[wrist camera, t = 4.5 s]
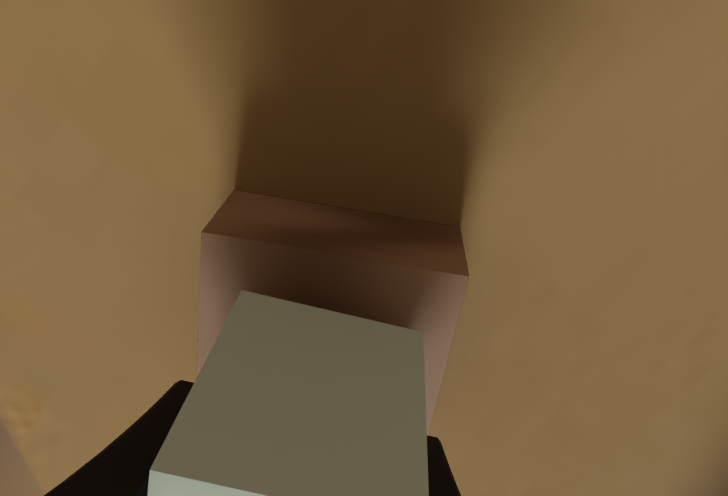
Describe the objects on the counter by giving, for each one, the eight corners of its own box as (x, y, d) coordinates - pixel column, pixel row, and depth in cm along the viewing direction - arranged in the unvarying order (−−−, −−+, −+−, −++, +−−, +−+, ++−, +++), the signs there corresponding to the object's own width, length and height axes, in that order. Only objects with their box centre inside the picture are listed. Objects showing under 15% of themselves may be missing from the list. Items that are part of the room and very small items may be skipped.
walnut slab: (459, 223, 16) (468, 276, 13) (417, 397, 18) (417, 472, 16) (237, 186, 16) (201, 232, 13) (226, 365, 18) (195, 435, 16)
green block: (423, 332, 13) (430, 531, 8) (379, 463, 15) (366, 687, 10) (241, 290, 13) (149, 470, 8) (220, 428, 14) (134, 638, 10)
